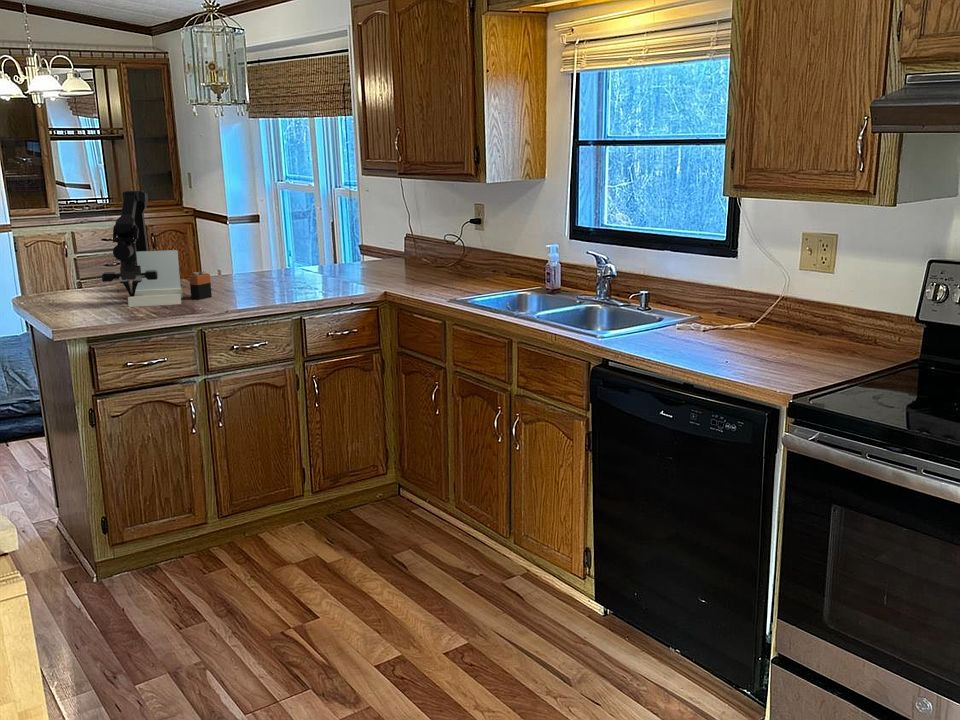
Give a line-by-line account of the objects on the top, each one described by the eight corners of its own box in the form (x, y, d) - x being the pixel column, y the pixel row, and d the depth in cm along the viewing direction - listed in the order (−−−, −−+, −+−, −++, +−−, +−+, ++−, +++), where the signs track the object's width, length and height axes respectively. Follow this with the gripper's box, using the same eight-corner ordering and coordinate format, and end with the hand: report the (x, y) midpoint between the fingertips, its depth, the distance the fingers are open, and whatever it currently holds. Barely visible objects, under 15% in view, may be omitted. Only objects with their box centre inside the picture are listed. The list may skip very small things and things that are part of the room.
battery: (190, 299, 327) (188, 272, 324) (204, 296, 332) (202, 270, 330) (198, 300, 324) (196, 273, 322) (212, 297, 330) (210, 271, 328)
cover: (132, 290, 324) (133, 290, 325) (180, 288, 329) (180, 288, 330) (129, 251, 323) (129, 251, 324) (177, 250, 328) (177, 250, 329)
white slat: (132, 299, 325) (131, 290, 324) (182, 297, 330) (181, 288, 329) (128, 306, 312) (127, 297, 311) (181, 304, 317) (180, 294, 316)
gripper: (97, 260, 304) (102, 304, 308) (154, 258, 309) (158, 301, 313) (101, 256, 314) (106, 298, 318) (156, 254, 319) (159, 296, 323)
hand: (132, 299), depth 318 cm, fingers closed
